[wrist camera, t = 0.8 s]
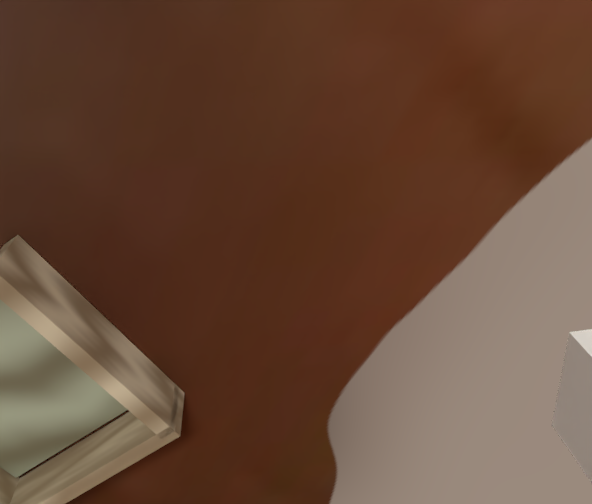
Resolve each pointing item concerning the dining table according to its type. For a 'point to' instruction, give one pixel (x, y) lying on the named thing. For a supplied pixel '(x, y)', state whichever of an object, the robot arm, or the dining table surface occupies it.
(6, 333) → the tray
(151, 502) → the dining table surface
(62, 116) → the dining table surface
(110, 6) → the dining table surface
